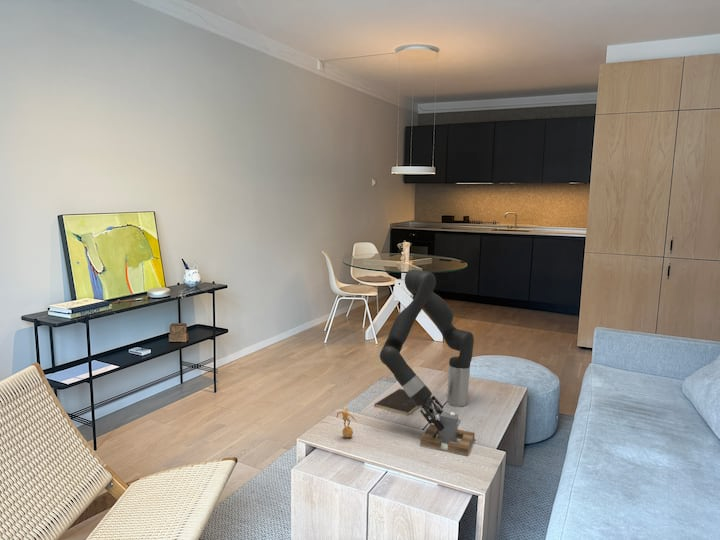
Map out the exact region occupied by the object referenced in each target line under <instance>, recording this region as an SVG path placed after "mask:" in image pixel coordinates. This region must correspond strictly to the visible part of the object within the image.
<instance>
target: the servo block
mask: <svg viewBox="0 0 720 540" xmlns="http://www.w3.org/2000/svg"><path fill="white" fill-rule="evenodd" d="M437 418H438V420H439V421H440V422H441V424H442V425H443V426H444V429H443V430H442V431H439V437H438V439H442V443H447V444H448V443H449V442H450V441H452V442H456V441H457V431H458V429H459V426H460V424H461V423H462V420H461V419H459V414H458V413H456V412H454V411H451V412H448V411H447V412H446V411H443V412H442V413H441V415H440V416H439V415H438V417H437Z"/></svg>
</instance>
